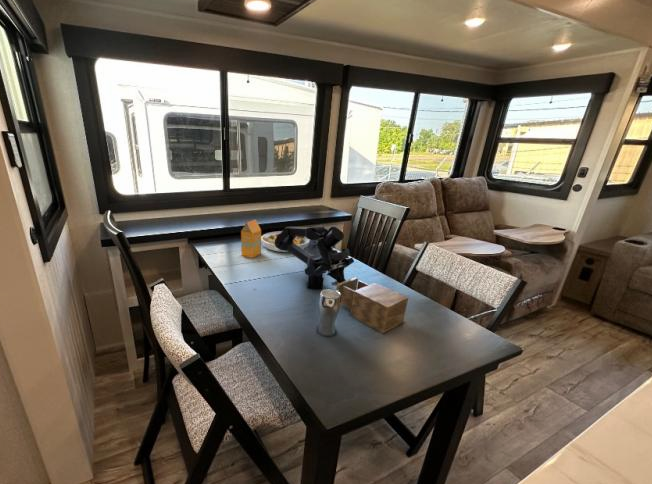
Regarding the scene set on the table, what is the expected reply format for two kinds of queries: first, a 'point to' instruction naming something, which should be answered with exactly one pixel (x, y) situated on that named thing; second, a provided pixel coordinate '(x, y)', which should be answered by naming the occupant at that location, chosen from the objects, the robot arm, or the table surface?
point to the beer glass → (328, 311)
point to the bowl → (270, 238)
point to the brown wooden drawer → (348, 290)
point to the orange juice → (251, 239)
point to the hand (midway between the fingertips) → (343, 284)
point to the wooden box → (379, 307)
